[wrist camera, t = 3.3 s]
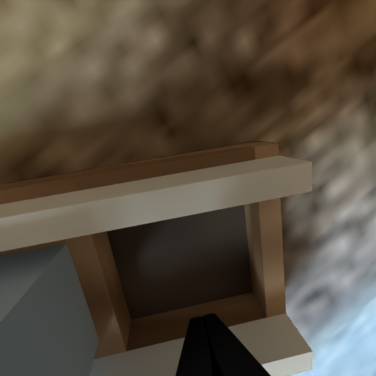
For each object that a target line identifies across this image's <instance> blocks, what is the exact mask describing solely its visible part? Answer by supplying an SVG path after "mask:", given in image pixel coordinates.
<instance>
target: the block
mask: <svg viewBox="0 0 376 376" xmlns="http://www.w3.org/2000/svg"><path fill="white" fill-rule="evenodd" d="M98 343H99V338H98V335H97V332H96V329H95V326H94V323H93V320H92V317H91V314H90V311H89V308H88V305H87V302H86V299H85V296H84V293H83V290H82V287H81V284H80V281H79V278H78V275H77V272H76V269H75V266H74V263H73V260H72V257H71V254H70V251H69V248H68V245H67V243H65V244H60V245H55V246H50V247H45V248H39V249H34V250H29V251H24V252H19V253H14V254H9V255H3V256H0V376H89V374H90V371H91V367H92V364H93V360H94V357H95V353H96V350H97V346H98Z"/></svg>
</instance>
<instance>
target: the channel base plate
mask: <svg viewBox="0 0 376 376" xmlns="http://www.w3.org/2000/svg"><path fill="white" fill-rule="evenodd" d="M278 155H279V143H273V142H262V141H255V142H249V143H243V144H237V145H231V146H225V147H219V148H213V149H207V150H201V151H195V152H190V153H184V154H178V155H172V156H166V157H160V158H154V159H148V160H142V161H136V162H130V163H124V164H119V165H113V166H107V167H101V168H95V169H89V170H83V171H77V172H71V173H65V174H59V175H53V176H48V177H42V178H36V179H30V180H24V181H18V182H12V183H6V184H0V204H6V203H12V202H17V201H23V200H29V199H34V198H40V197H46V196H51V195H57V194H63V193H69V192H74V191H80V190H86V189H91V188H97V187H103V186H108V185H114V184H120V183H125V182H131V181H137V180H142V179H148V178H154V177H159V176H165V175H171V174H176V173H182V172H188V171H193V170H199V169H205V168H210V167H216V166H222V165H227V164H233V163H239V162H244V161H250V160H256V159H261V158H267V157H273V156H278ZM65 243H67V245H68V248H69V251H70V254H71V257H72V260H73V263H74V266H75V269H76V272H77V275H78V278H79V281H80V284H81V287H82V290H83V293H84V296H85V299H86V302H87V305H88V308H89V311H90V314H91V317H92V320H93V323H94V326H95V329H96V332H97V335H98V338H99V343H98V346H97V350H96V353H95V357H94V359H97V358H101V357H105V356H109V355H113V354H117V353H122V352H126V351H130V350H134V349H138V348H142V347H147V346H151V345H155V344H159V343H163V342H167V341H172V340H176V339H180V338H184V337H185V335H186V331H187V327H188V323H189V320H190V318H192V317H196V316H202V317H203V315H205V314H209V313H215V314H217V316H218V317H219V318H220V319H221V320H222V321H223V322H224V323H225V325H226V326H227V327H230V326H234V325H238V324H242V323H247V322H251V321H255V320H259V319H263V318H267V317H272V316H276V315H280V314H284V313H286V307H285V283H284V260H283V236H282V213H281V198H276V199H271V200H266V201H260V202H255V203H250V204H245V205H240V206H235V207H229V208H224V209H219V210H214V211H209V212H204V213H198V214H193V215H188V216H183V217H178V218H172V219H167V220H162V221H157V222H152V223H147V224H141V225H136V226H131V227H126V228H121V229H116V230H110V231H105V232H100V233H95V234H90V235H85V236H79V237H74V238H69V239H64V240H59V241H53V242H48V243H43V244H38V245H33V246H28V247H22V248H17V249H12V250H7V251H2V252H0V256H3V255H9V254H14V253H19V252H24V251H29V250H34V249H39V248H45V247H50V246H55V245H60V244H65Z"/></svg>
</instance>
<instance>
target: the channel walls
mask: <svg viewBox="0 0 376 376" xmlns="http://www.w3.org/2000/svg"><path fill="white" fill-rule="evenodd" d="M307 192H312V162H311V161H305V160H300V159H295V158H290V157H285V156H280V155H278V156H273V157H267V158H261V159H256V160H250V161H244V162H239V163H233V164H227V165H222V166H216V167H210V168H205V169H199V170H193V171H188V172H182V173H176V174H171V175H165V176H159V177H154V178H148V179H142V180H137V181H131V182H125V183H120V184H114V185H108V186H103V187H97V188H91V189H86V190H80V191H74V192H69V193H63V194H57V195H51V196H46V197H40V198H34V199H29V200H23V201H17V202H12V203H6V204H0V252H2V251H7V250H12V249H17V248H22V247H28V246H33V245H38V244H43V243H48V242H53V241H59V240H64V239H69V238H74V237H79V236H85V235H90V234H95V233H100V232H105V231H110V230H116V229H121V228H126V227H131V226H136V225H141V224H147V223H152V222H157V221H162V220H167V219H172V218H178V217H183V216H188V215H193V214H198V213H204V212H209V211H214V210H219V209H224V208H229V207H235V206H240V205H245V204H250V203H255V202H260V201H266V200H271V199H276V198H281V197H286V196H291V195H297V194H302V193H307ZM228 328H229V329H230V330H231V331H232V332H233V334H234V335H235V336H236V337H237V338H238V339H239V340H240V341H241V343H242V344H243V345H244V346H245V347H246V348H247V349H248V350H249V352H250V353H251V354H252V355H253V356H254V357H255V358H256V359H257V360H258V362H259V363H260V364H261V365H262V366H263V367H264V368H265V369H266V371H267V372H268V373H269V374H270V375H271V376H289V375H292V374H296V373H300V372H304V371H307V370H311V369H313V351H312V350H311V348H310V347H309V346H308V344H307V343H306V341H305V340H304V338H303V337H302V336H301V334H300V333H299V331H298V330H297V328H296V327H295V326H294V324H293V323H292V321H291V320H290V318H289V317H288V316H287V314H286V313H284V314H280V315H276V316H272V317H267V318H263V319H259V320H255V321H251V322H247V323H242V324H238V325H234V326H230V327H228ZM184 339H185V337H184V338H180V339H176V340H172V341H167V342H163V343H159V344H155V345H151V346H147V347H142V348H138V349H134V350H130V351H126V352H122V353H117V354H113V355H109V356H105V357H101V358H97V359H94V360H93V364H92V367H91V371H90V374H89V376H175V375H176V371H177V367H178V363H179V359H180V355H181V351H182V347H183V343H184Z"/></svg>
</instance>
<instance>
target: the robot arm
mask: <svg viewBox="0 0 376 376" xmlns="http://www.w3.org/2000/svg"><path fill="white" fill-rule="evenodd" d="M175 376H271V375H270V374H269V373H268V372H267V371H266V369H265V368H264V367H263V366H262V365H261V364H260V363H259V362H258V360H257V359H256V358H255V357H254V356H253V355H252V354H251V353H250V352H249V350H248V349H247V348H246V347H245V346H244V345H243V344H242V343H241V341H240V340H239V339H238V338H237V337H236V336H235V335H234V334H233V332H232V331H231V330H230V329H229V328H228V327H227V326H226V325H225V323H224V322H223V321H222V320H221V319H220V318H219V317H218V316H217V314H215V313H209V314H205V315H203V317H202V316H196V317H192V318H190V320H189V323H188V327H187V331H186V335H185V339H184V343H183V347H182V351H181V355H180V359H179V363H178V367H177V371H176V375H175Z"/></svg>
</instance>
